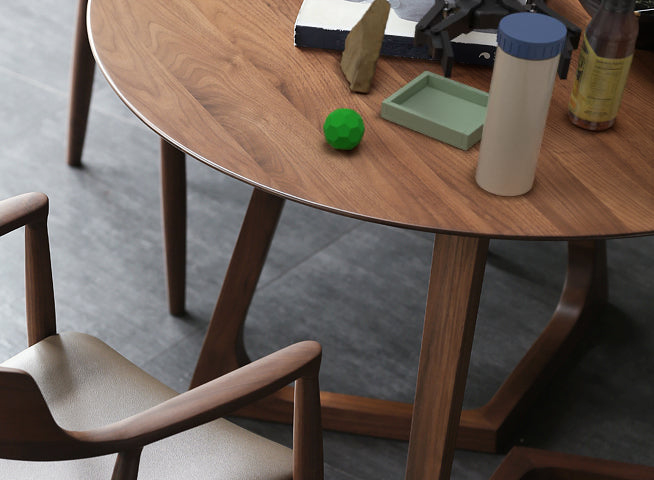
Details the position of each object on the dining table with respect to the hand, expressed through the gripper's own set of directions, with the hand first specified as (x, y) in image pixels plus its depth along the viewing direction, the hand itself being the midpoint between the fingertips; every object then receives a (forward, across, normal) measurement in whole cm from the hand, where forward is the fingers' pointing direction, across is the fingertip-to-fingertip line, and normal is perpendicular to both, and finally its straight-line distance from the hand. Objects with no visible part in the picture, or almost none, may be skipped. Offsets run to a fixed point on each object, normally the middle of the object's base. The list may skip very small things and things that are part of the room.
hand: (507, 68), depth 125 cm
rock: (-18, +16, -11) cm, 26 cm away
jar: (+8, 0, -10) cm, 13 cm away
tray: (-7, +5, -10) cm, 14 cm away
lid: (+8, 0, +8) cm, 11 cm away
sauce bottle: (-6, -13, -11) cm, 18 cm away
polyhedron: (+1, +19, -11) cm, 21 cm away
